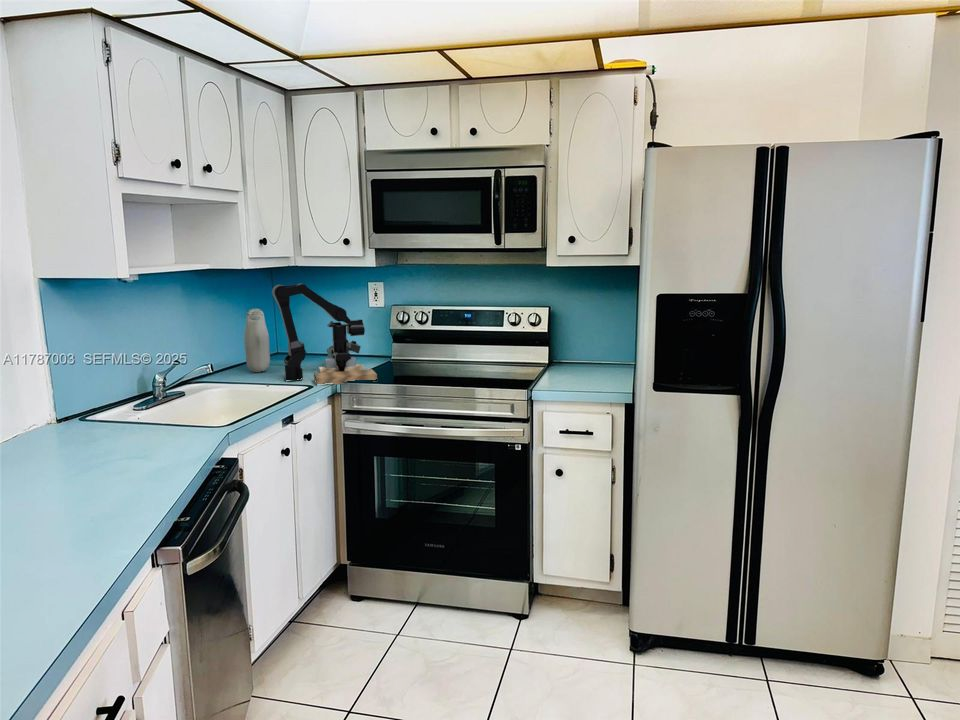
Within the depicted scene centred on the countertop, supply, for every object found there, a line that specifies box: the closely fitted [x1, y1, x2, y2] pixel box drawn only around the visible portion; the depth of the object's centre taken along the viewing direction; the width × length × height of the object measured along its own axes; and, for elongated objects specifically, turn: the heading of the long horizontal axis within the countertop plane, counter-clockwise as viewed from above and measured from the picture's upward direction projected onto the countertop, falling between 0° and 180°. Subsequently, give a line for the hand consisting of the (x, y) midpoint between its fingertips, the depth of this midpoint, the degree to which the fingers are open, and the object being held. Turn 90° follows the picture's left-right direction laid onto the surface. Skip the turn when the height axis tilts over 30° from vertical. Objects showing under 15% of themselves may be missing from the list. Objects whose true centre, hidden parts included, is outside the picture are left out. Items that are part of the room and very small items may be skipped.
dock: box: [313, 368, 378, 386], centre depth 283 cm, size 24×11×3 cm, turn 109°
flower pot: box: [326, 345, 334, 359], centre depth 315 cm, size 9×9×9 cm
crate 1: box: [324, 358, 337, 368], centre depth 293 cm, size 4×4×4 cm
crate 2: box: [345, 356, 357, 367], centre depth 295 cm, size 4×4×4 cm
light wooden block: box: [318, 363, 364, 373], centre depth 295 cm, size 18×6×4 cm, turn 109°
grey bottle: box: [243, 308, 271, 373], centre depth 302 cm, size 10×10×28 cm
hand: (341, 373), depth 295 cm, fingers closed on light wooden block, 5 cm apart
